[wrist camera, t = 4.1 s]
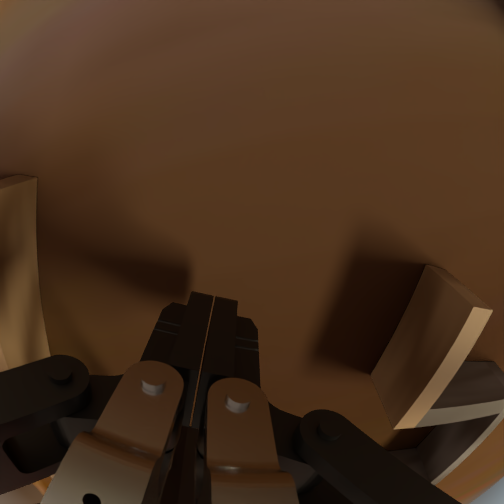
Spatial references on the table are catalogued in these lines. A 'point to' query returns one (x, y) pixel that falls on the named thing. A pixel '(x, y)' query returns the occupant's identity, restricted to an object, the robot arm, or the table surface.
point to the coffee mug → (181, 470)
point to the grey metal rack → (383, 376)
